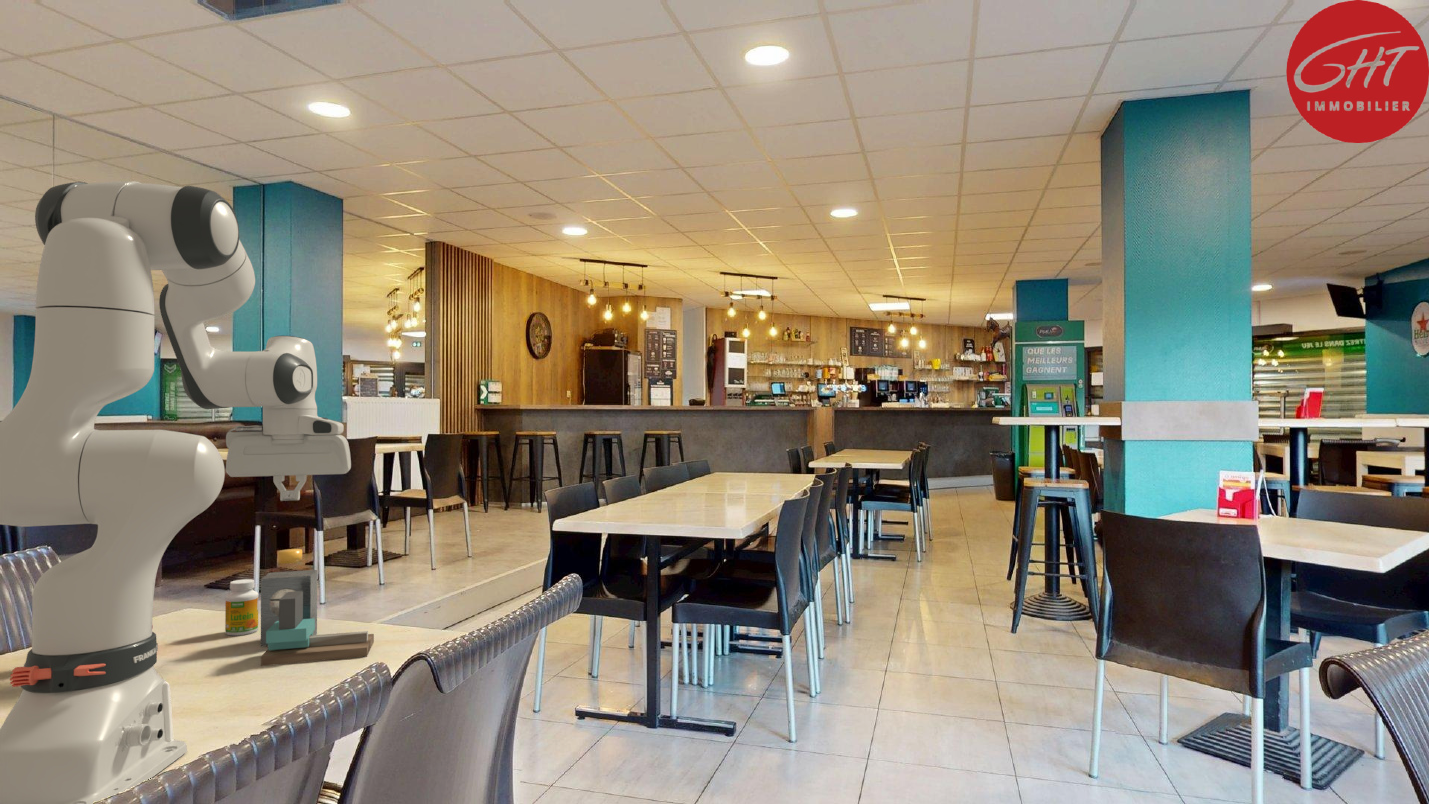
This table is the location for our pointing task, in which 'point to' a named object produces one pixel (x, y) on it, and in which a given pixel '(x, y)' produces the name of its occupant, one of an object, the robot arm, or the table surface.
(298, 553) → the button
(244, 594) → the supplement bottle
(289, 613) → the carriage
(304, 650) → the rail board
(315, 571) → the cabinet
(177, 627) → the table surface
